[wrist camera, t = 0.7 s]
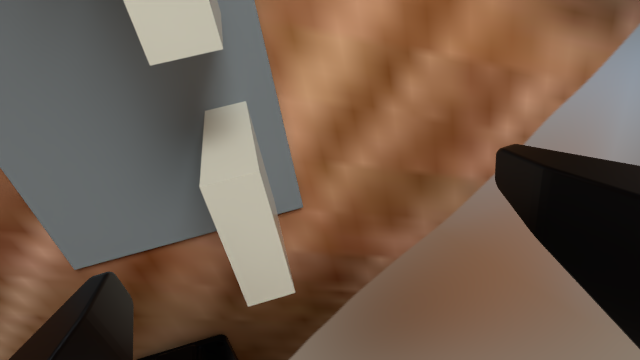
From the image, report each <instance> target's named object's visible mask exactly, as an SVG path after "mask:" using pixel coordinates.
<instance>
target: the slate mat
mask: <svg viewBox="0 0 640 360" xmlns="http://www.w3.org/2000/svg"><path fill="white" fill-rule="evenodd" d="M217 1H218V4H219V8H220V11H221V21H222V36H223V49H222V50H217V51H213V52H209V53H204V54H200V55H195V56H191V57H186V58H182V59H178V60H173V61H169V62H164V63H160V64H155V65H151V66H150V65H149V62H148V60H147V57H146V55H145V52H144V50H143V48H142V45H141V43H140V40H139V38H138V35H137V33H136V30H135V28H134V25H133V23H132V21H131V18H130V16H129V13H128V11H127V8H126V6H125V3H124V1H123V0H0V168H1V169H2V170H3V172H4V173H5V174H6V176H7V177H8V179H9V180H10V181H11V183H12V184H13V186H14V187H15V188H16V190H17V191H18V192H19V194H20V195H21V197H22V198H23V199H24V201H25V202H26V203H27V205H28V206H29V208H30V209H31V210H32V212H33V213H34V214H35V216H36V217H37V219H38V220H39V221H40V223H41V224H42V226H43V227H44V228H45V230H46V231H47V232H48V234H49V235H50V237H51V238H52V239H53V241H54V242H55V243H56V245H57V246H58V248H59V249H60V250H61V252H62V253H63V255H64V256H65V257H66V259H67V260H68V261H69V263H70V264H71V266H72V267H73V268H74V270H76V269H80V268H83V267H87V266H91V265H94V264H98V263H102V262H105V261H109V260H112V259H116V258H120V257H123V256H127V255H131V254H134V253H138V252H142V251H145V250H149V249H153V248H156V247H160V246H164V245H167V244H171V243H175V242H178V241H182V240H185V239H189V238H193V237H196V236H200V235H204V234H207V233H211V232H215V231H217V229H216V227H215V224H214V222H213V219H212V217H211V214H210V212H209V210H208V207H207V205H206V202H205V200H204V197H203V195H202V192H201V190H200V187H199V185H200V171H201V157H202V143H203V130H204V116H205V111H207V110H211V109H215V108H219V107H223V106H227V105H232V104H236V103H240V102H244V101H246V103H247V106H248V110H249V113H250V117H251V120H252V124H253V127H254V131H255V134H256V138H257V141H258V145H259V148H260V152H261V155H262V159H263V162H264V166H265V169H266V173H267V176H268V180H269V183H270V187H271V190H272V194H273V197H274V201H275V205H276V210H277V214H280V213H284V212H288V211H291V210H295V209H299V208H302V207H303V204H302V200H301V196H300V191H299V187H298V183H297V179H296V175H295V170H294V166H293V162H292V158H291V153H290V149H289V145H288V141H287V137H286V132H285V128H284V124H283V120H282V116H281V111H280V107H279V103H278V99H277V94H276V90H275V86H274V82H273V78H272V73H271V69H270V65H269V61H268V57H267V52H266V48H265V44H264V40H263V35H262V31H261V27H260V23H259V19H258V14H257V10H256V6H255V2H254V0H217Z"/></svg>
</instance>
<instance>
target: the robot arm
mask: <svg viewBox="0 0 640 360" xmlns="http://www.w3.org/2000/svg"><path fill="white" fill-rule="evenodd" d="M495 181H496V184H497V187H498V188H499V190H500V191H501V192H502V194H503V195H504V196H505V198H506V199H507V200H508V202H509V203H510V204H511V206H512V207H513V208H514V210H515V211H516V212H517V214H518V215H519V216H520V218H521V219H522V220H523V222H524V223H525V224H526V226H527V227H528V228H529V230H530V231H531V232H532V233H533V234H534V236H535V237H536V238H537V239H538V240H539V241H540V243H541V244H542V245H543V246H544V247H545V248H546V249H547V250H548V251H549V252H550V253H551V255H553V257H554V258H555V259H556V260H557V261H558V262H559V263H560V264H561V265H562V266H563V267H564V268H565V270H566V271H567V272H568V273H569V274H570V275H571V276H572V277H573V278H574V279H575V280H576V281H577V282H578V283H579V285H580V286H581V287H582V288H583V289H584V290H585V291H586V292H587V293H588V294H589V295H590V296H591V297H592V299H593V300H594V301H595V302H596V303H597V304H598V305H599V306H600V307H601V308H602V309H603V310H604V311H605V312H606V313H607V315H608V316H609V317H610V318H611V319H612V320H613V321H614V322H615V323H616V324H617V325H618V326H619V327H620V329H622V331H623V332H624V333H625V334H626V335H627V336H628V337H629V338H630V339H631V340H632V341H633V342H634V343H635V345H636V346H637V347H638V348H639V349H640V166H637V165H632V164H626V163H620V162H615V161H609V160H603V159H598V158H592V157H587V156H581V155H575V154H570V153H564V152H558V151H553V150H547V149H541V148H536V147H531V146H525V145H519V144H513V145H509V146H506V147H503V148H500V149H499V150H498V151H497V153H496V168H495ZM9 360H133V301H132V298H131V296H130V294H129V293H128V292H127V290H126V289H125V287H124V286H123V285H122V283H121V282H120V280H119V279H118V277H117V276H116V275H115V274H114V273H112V272H105V273H102V274H99V275H96V276H93V277H91V278H89V279H88V280H87V281H86V282H85V283H84V284H83V285H82V286H81V287H80V288H79V289H78V290H77V291H76V292H75V293H74V294H73V295H72V296H71V297H70V298H69V299H68V300H67V301H66V302H65V303H64V304H63V305H62V306H61V307H60V308H59V309H58V310H57V311H56V312H55V313H54V314H53V315H52V316H51V317H50V318H49V319H48V320H47V321H46V322H45V324H44V325H43V326H42V327H41V328H40V329H39V330H38V331H37V332H36V333H35V334H34V335H33V336H32V337H31V338H30V339H29V340H28V341H27V342H26V343H25V344H24V345H23V346H22V347H21V348H20V349H19V350H18V351H17V352H16V353H15V354H14V355H13V356H12V357H11V358H10V359H9ZM137 360H238V359H237V357H236V355H235V352H234V350H233V348H232V346H231V344H230V342H229V340H228V338H227V337H226V336H225V335H217V336H214V337H210V338H207V339H204V340H200V341H197V342H194V343H190V344H187V345H184V346H180V347H177V348H174V349H171V350H167V351H164V352H161V353H157V354H154V355H151V356H147V357H144V358H141V359H137Z"/></svg>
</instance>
